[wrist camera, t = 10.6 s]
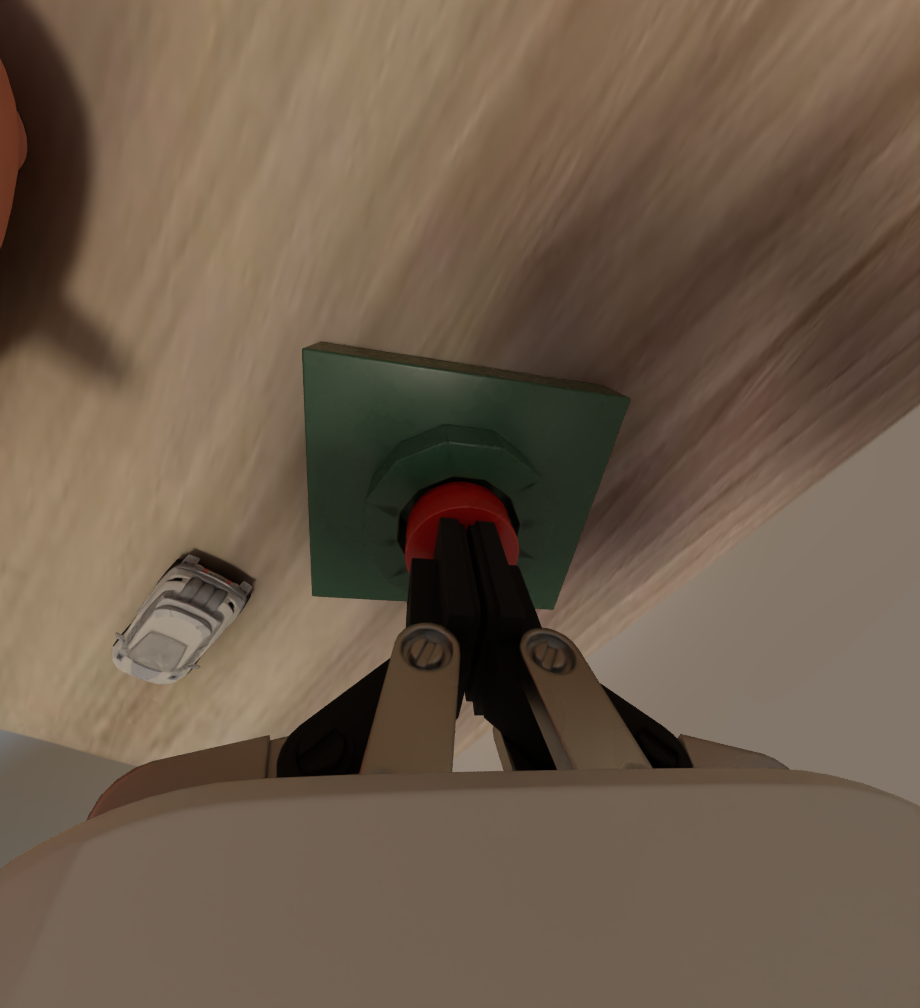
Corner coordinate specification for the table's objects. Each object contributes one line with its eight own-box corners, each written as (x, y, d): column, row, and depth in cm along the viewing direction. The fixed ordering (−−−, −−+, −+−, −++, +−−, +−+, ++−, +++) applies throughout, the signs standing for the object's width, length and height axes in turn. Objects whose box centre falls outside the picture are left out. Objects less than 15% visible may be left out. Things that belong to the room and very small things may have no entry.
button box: (604, 385, 15) (661, 410, 11) (541, 579, 19) (567, 640, 16) (319, 341, 13) (280, 354, 10) (323, 565, 18) (299, 629, 14)
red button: (518, 486, 12) (531, 512, 11) (497, 570, 14) (505, 603, 13) (412, 475, 12) (410, 500, 10) (403, 563, 14) (400, 597, 12)
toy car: (117, 641, 19) (67, 695, 16) (189, 540, 16) (144, 585, 14) (190, 669, 20) (155, 723, 18) (265, 581, 18) (238, 628, 15)
